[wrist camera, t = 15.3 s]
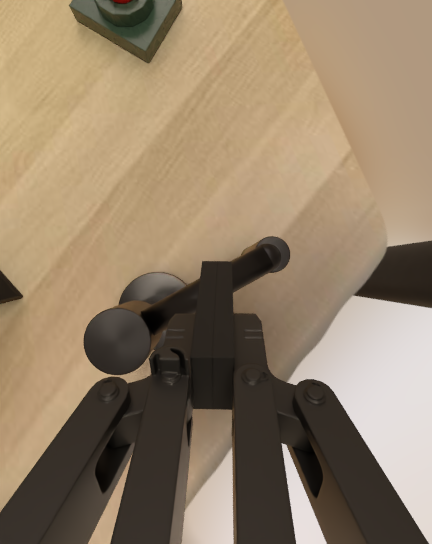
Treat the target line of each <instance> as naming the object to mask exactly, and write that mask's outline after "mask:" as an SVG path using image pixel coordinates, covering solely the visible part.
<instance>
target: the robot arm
mask: <svg viewBox="0 0 432 544" xmlns="http://www.w3.org/2000/svg"><path fill="white" fill-rule="evenodd" d="M149 361H150V368H151V375H150V376H148V377H147V378H145V379H142V380H139V381H136V382H132V383H128V384H127V382H126V381H125V380H124V379H122V378H120V377H108V378H104V379H102V380H100V381H98V382H97V383H96V384H95V385H94V386H93V387H92V388H91V389H90V390H89V392H88V393H87V394H86V396H85V397H84V398H83V400H82V401H81V403H80V404H79V405H78V407H77V408H76V409H75V411H74V412H73V413H72V415H71V416H70V418H69V419H68V420H67V422H66V423H65V424H64V426H63V427H62V429H61V430H60V431H59V433H58V434H57V435H56V437H55V438H54V440H53V441H52V442H51V444H50V445H49V446H48V448H47V449H46V451H45V452H44V453H43V455H42V456H41V457H40V459H39V460H38V462H37V463H36V464H35V466H34V467H33V468H32V470H31V471H30V472H29V474H28V475H27V477H26V478H25V479H24V481H23V482H22V483H21V485H20V486H19V488H18V489H17V490H16V492H15V493H14V494H13V496H12V497H11V499H10V500H9V501H8V503H7V504H6V505H5V507H4V508H3V510H2V511H1V512H0V544H88V542H89V540H90V538H91V536H92V534H93V532H94V530H95V528H96V526H97V524H98V522H99V520H100V518H101V516H102V514H103V512H104V509H105V507H106V505H107V503H108V501H109V499H110V497H111V495H112V493H113V491H114V489H115V487H116V485H117V483H118V481H119V479H120V477H121V475H122V473H123V471H124V469H125V467H126V465H127V463H128V461H129V459H130V457H131V455H132V458H131V462H130V466H129V470H128V474H127V478H126V482H125V486H124V491H123V495H122V499H121V503H120V507H119V511H118V515H117V519H116V523H115V527H114V531H113V535H112V539H111V543H110V544H181V542H182V532H183V521H184V511H185V500H186V489H187V479H188V468H189V458H190V447H191V437H192V426H193V419H192V411H193V409H229V410H232V451H233V525H234V527H233V528H234V544H296V540H295V534H294V526H293V519H292V513H291V506H290V499H289V492H288V485H287V478H286V471H285V465H284V458H283V451H282V444H281V443H283V444H286V445H287V447H288V450H289V452H290V455H291V457H292V459H293V462H294V464H295V467H296V469H297V472H298V474H299V477H300V479H301V481H302V484H303V486H304V489H305V491H306V494H307V496H308V498H309V501H310V503H311V506H312V508H313V510H314V513H315V516H316V518H317V520H318V523H319V525H320V528H321V530H322V533H323V535H324V537H325V540H326V542H327V544H429V543H428V542H427V540H426V539H425V537H424V535H423V534H422V532H421V531H420V529H419V527H418V526H417V524H416V523H415V521H414V519H413V518H412V516H411V515H410V513H409V511H408V510H407V508H406V507H405V505H404V503H403V502H402V500H401V499H400V497H399V495H398V494H397V492H396V491H395V489H394V488H393V486H392V484H391V483H390V481H389V480H388V478H387V476H386V475H385V473H384V472H383V470H382V468H381V467H380V465H379V464H378V462H377V461H376V459H375V457H374V456H373V454H372V453H371V451H370V450H369V448H368V446H367V445H366V443H365V442H364V440H363V438H362V437H361V435H360V433H359V432H358V430H357V429H356V427H355V426H354V424H353V422H352V421H351V419H350V418H349V416H348V415H347V413H346V411H345V410H344V408H343V406H342V405H341V403H340V402H339V400H338V398H337V397H336V395H335V394H334V392H333V391H332V390H331V389H330V387H329V386H327V385H326V384H324V383H323V382H321V381H317V380H314V379H307V380H304V381H301V382H299V383H298V384H297V385H293V384H290V383H286V382H284V381H281V380H279V379H278V378H276V377H275V376H274V375H273V374H272V373H271V372H270V370H269V369H268V365H267V359H266V352H265V345H264V339H263V332H262V324H261V321H260V319H259V318H258V317H257V315H256V314H233V284H232V262H228V261H202V268H201V276H200V284H199V291H198V299H197V307H196V314H175V315H174V316H173V317H172V318H171V319H170V320H169V323H168V327H167V331H166V336H165V340H164V344H163V347H160V348H158V349H156V350H155V351H154V352H153V353H152V354H151V356H150V358H149ZM132 453H133V454H132Z"/></svg>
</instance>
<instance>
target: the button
mask: <svg viewBox="0 0 432 544" xmlns="http://www.w3.org/2000/svg"><path fill="white" fill-rule="evenodd" d="M112 1H114V2H116V3H120V4H124V3H128V2H130V1H132V0H112Z"/></svg>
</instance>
